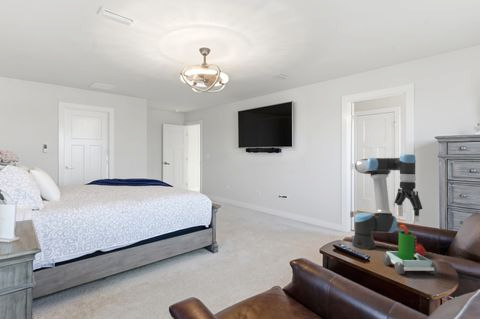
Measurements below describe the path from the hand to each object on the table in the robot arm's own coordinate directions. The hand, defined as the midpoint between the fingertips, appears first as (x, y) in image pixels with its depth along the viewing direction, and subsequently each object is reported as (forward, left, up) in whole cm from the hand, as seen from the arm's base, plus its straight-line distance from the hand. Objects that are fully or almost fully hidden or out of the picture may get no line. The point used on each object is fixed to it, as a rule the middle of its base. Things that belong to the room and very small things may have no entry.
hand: (407, 218), depth 145 cm
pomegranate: (-22, +20, -29) cm, 41 cm away
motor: (0, 0, -24) cm, 24 cm away
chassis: (0, 0, -29) cm, 29 cm away
